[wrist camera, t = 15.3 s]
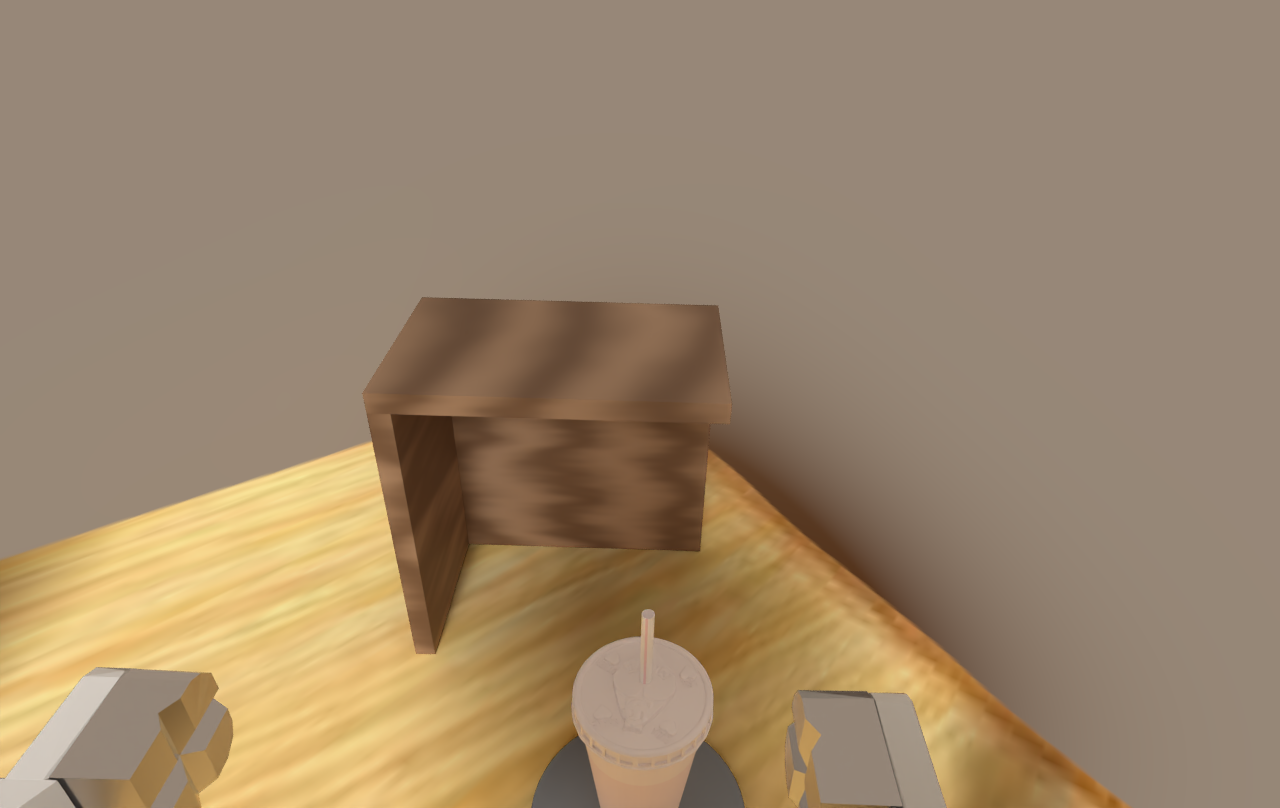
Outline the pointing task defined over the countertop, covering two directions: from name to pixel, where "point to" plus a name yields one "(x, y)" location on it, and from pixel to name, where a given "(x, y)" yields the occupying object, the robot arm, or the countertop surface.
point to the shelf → (541, 432)
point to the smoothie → (642, 718)
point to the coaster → (572, 798)
